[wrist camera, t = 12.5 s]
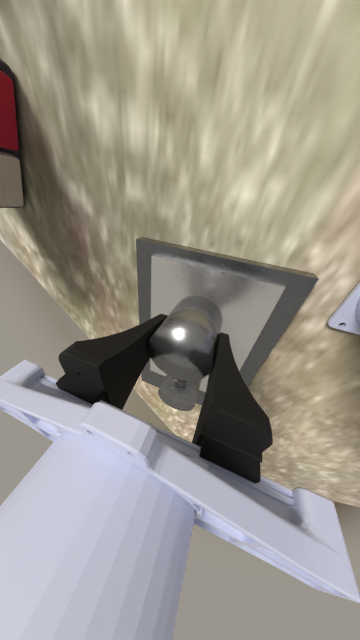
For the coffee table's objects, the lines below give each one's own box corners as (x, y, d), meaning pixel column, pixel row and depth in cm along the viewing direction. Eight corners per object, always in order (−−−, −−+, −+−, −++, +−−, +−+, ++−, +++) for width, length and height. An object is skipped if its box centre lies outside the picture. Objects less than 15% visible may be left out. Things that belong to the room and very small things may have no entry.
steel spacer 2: (201, 355, 20) (189, 389, 17) (206, 378, 23) (197, 414, 19) (170, 353, 22) (153, 383, 18) (178, 375, 24) (164, 406, 21)
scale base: (314, 273, 13) (320, 280, 12) (228, 409, 28) (227, 418, 27) (142, 237, 17) (134, 239, 16) (145, 375, 31) (140, 381, 30)
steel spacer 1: (229, 304, 13) (220, 345, 9) (214, 344, 15) (202, 389, 11) (177, 289, 14) (148, 320, 10) (171, 329, 16) (146, 366, 12)
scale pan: (284, 284, 14) (285, 287, 13) (224, 395, 24) (223, 399, 24) (154, 253, 16) (151, 255, 16) (151, 367, 27) (150, 370, 26)
